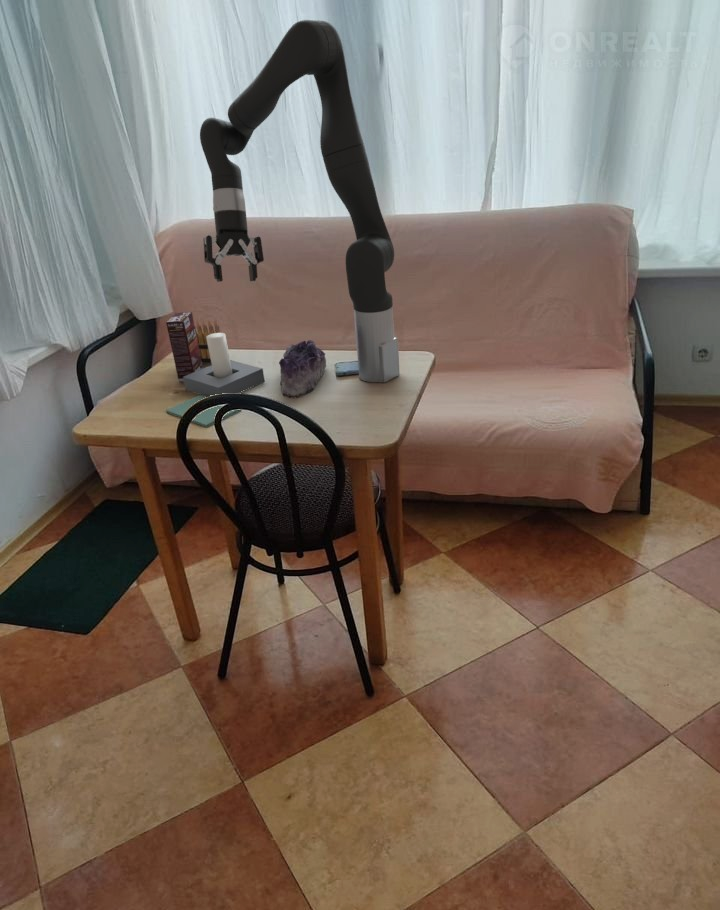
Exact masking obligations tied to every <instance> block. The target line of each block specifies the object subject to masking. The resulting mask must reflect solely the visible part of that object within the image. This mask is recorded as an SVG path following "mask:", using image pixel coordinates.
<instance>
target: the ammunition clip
mask: <svg viewBox="0 0 720 910" xmlns="http://www.w3.org/2000/svg"><path fill="white" fill-rule="evenodd" d="M207 325H208V326H207ZM194 326H195V331H196V336H197V340H198V345H199V350H200V355H201V360H202V364H203V363H206V364H211V359H210V354H209V349H208V344H207V339H206V336H208V335H210V334H214V333H221V329H220V326H219V323H218V320H217V319H214V325H213V323H212V320H211V319H208V324H207V323H206V320H205V319H202V324H201V322H200V321H199V319H196V325H195V323H194Z"/></svg>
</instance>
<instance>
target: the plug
mask: <svg viewBox="0 0 720 910" xmlns="http://www.w3.org/2000/svg"><path fill="white" fill-rule="evenodd" d="M206 339H207V344H208V349H209V354H210V359H211V363H210V364H211V365H212V369H213V373H214V377H217V378H220V379H222V378H224V377H227V376H229V375H231V374H233V373H232V367H231V362H230V360H231V358H230V352H229V351H230V350H229V347H228V341H227V336H226V333H225V332H220V333H215V332H214V334H210V335H208V336H206Z"/></svg>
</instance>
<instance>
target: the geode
mask: <svg viewBox="0 0 720 910" xmlns="http://www.w3.org/2000/svg"><path fill="white" fill-rule="evenodd" d="M306 341H307V342H306ZM285 349H286V350H285V352H284V353H283V357H281V359H280V360H279V362H278V364H279V366H280V367H279V368H280V381H279V386H280V387H281V392H282V396H284V397H288V398H290V399H291V398H292V399H297V398H300V397H303V396H305V395H307V394H310V393H311V392H313V391H314V389H315V388H316V386H317V384H318V383H319V382H320V379H321V378H322V377H323V376H322V375H323V374H324V372H325V370H326V367H327V358H326V353H325V352H324V351H323V350H322V349H320V348H318V347H317V344H316V343H315V341H314V340H311V339H308V340H303V341H300V342H299V343H296V344H291V343H290V344H289V345H288V346H287V347H286V348H285Z"/></svg>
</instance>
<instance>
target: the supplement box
mask: <svg viewBox="0 0 720 910" xmlns="http://www.w3.org/2000/svg"><path fill="white" fill-rule="evenodd" d="M165 324H166V325H165V326H166V329H167V332H168V333H167V334H168V339H169V343H170V347H171V351H172V355H173V356H172V357H173V360H174V365H175V370H176V374H177V375H176V376H177V379H178V382H180V383H181V382H183V383H184V379H183V377H184V376H186V375H189V374H191V373H194V372H196V371H199V370H201V369H203V368H204V366H203V363H202V360H201V355H200V350H199V345H198V340H197V336H196V331H197V330H196V331H195V327H196V325H195V326H194V324H195V321H194V316H193V312H192V311H191V312H189V311H186V312H175V313H174V315H173V316H171V318H170V319H168V320H167V321H166V323H165Z"/></svg>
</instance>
